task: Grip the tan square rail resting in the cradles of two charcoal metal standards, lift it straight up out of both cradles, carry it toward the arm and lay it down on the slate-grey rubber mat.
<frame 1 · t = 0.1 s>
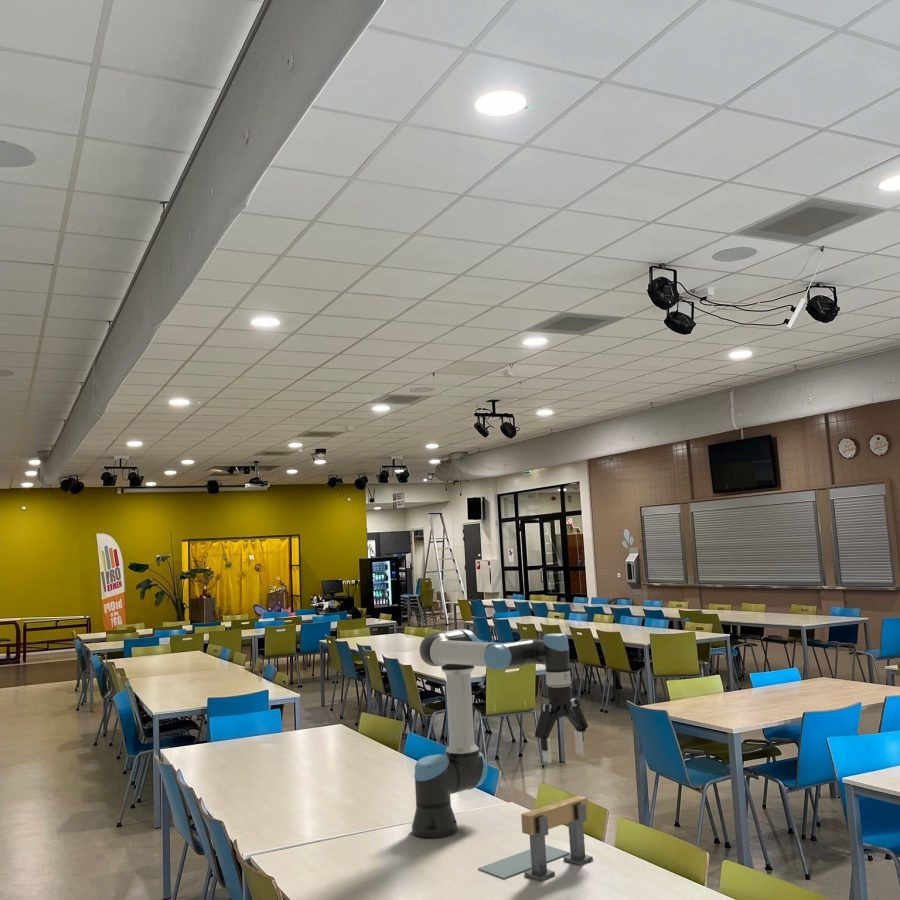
hand: (563, 757, 247), 28 cm above the table, fingers open, 13 cm apart
rail: (556, 823, 235), point 12 cm above the table, touching rack
mat: (524, 861, 240), on the table
rack: (559, 868, 233), on the table
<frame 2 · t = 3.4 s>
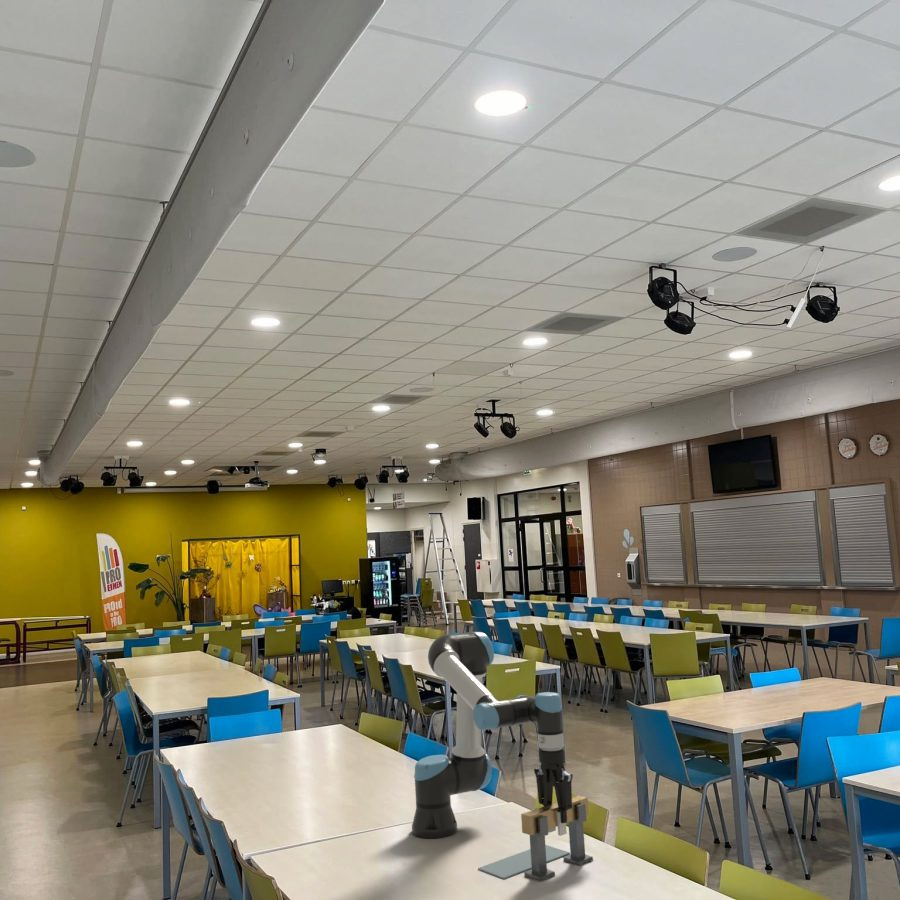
hand: (557, 832, 235), 10 cm above the table, fingers closed on rail, 3 cm apart
rail: (556, 823, 235), point 12 cm above the table, touching gripper, rack
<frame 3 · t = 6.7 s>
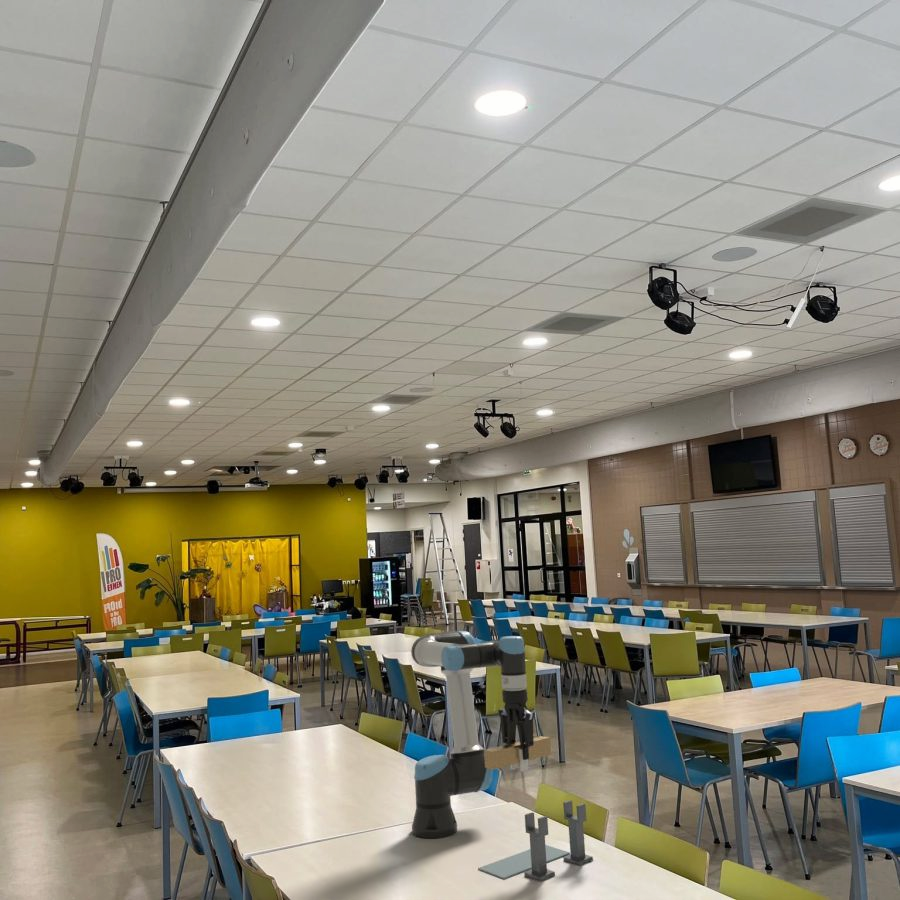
hand: (519, 769, 243), 26 cm above the table, fingers closed on rail, 3 cm apart
rail: (518, 760, 244), point 28 cm above the table, touching gripper
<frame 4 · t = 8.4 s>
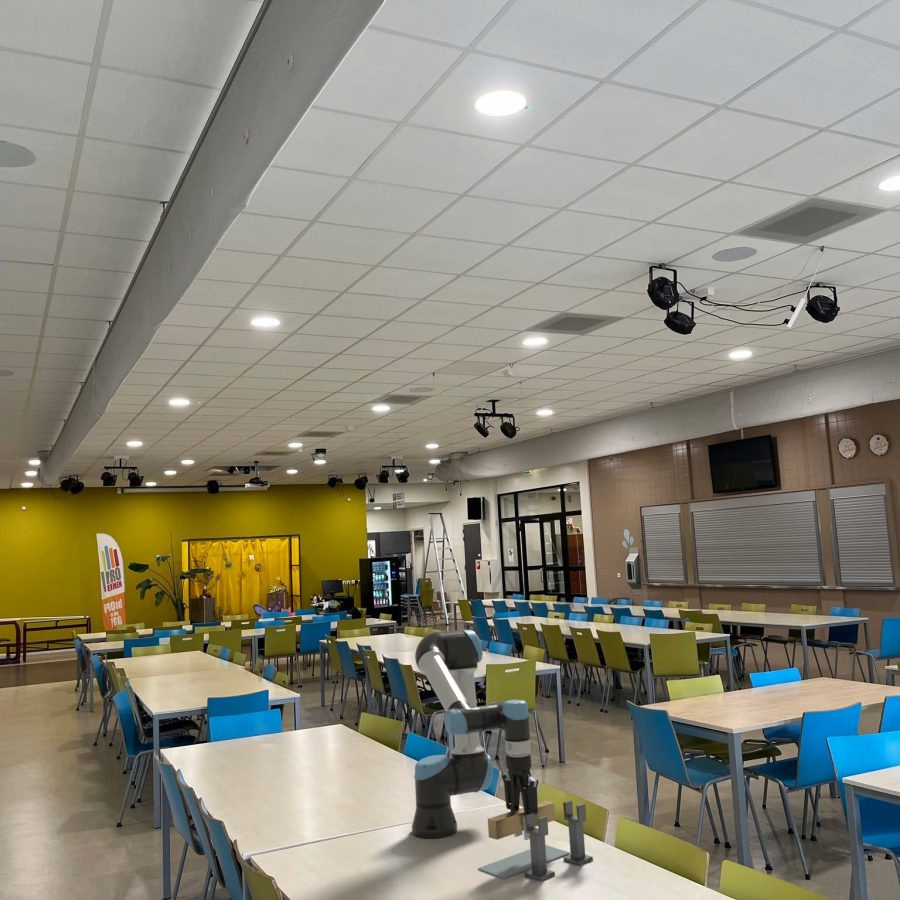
hand: (523, 836, 241), 7 cm above the table, fingers closed on rail, 3 cm apart
rail: (522, 828, 241), point 9 cm above the table, touching gripper
when the fingers open (1 cm above the table, at t = 10.1 s): rail drops 3 cm, resting on mat.
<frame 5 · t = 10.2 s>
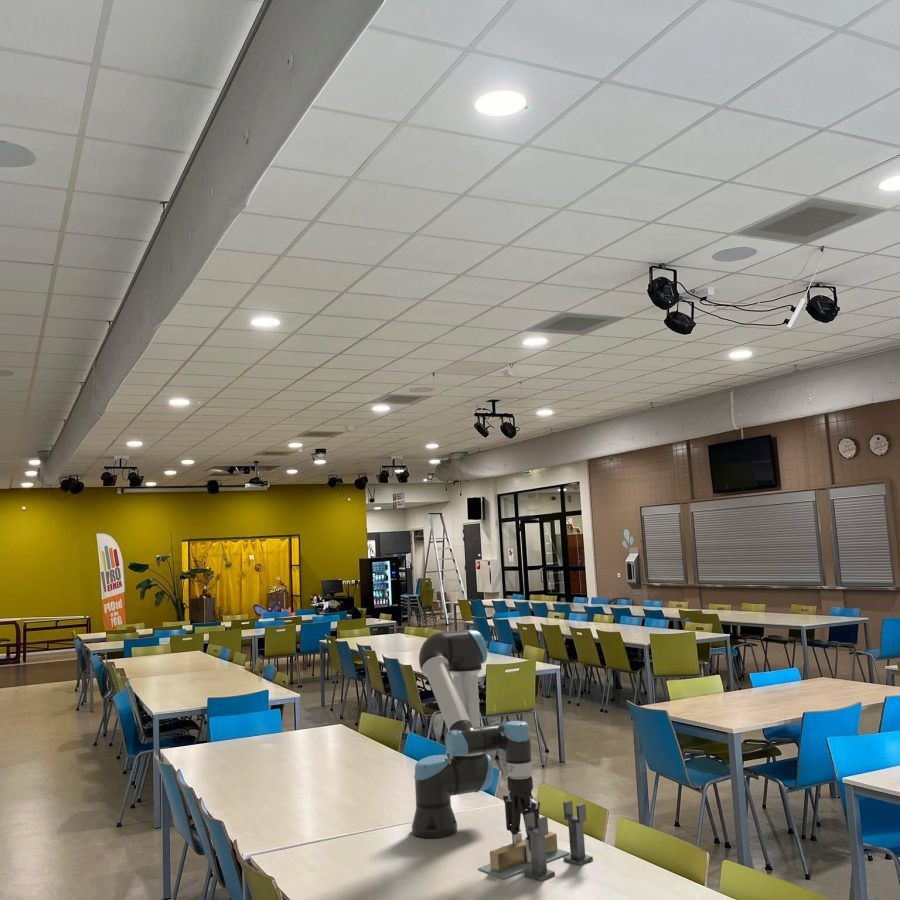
hand: (524, 858, 240), 1 cm above the table, fingers open, 4 cm apart
rail: (525, 860, 240), resting on mat
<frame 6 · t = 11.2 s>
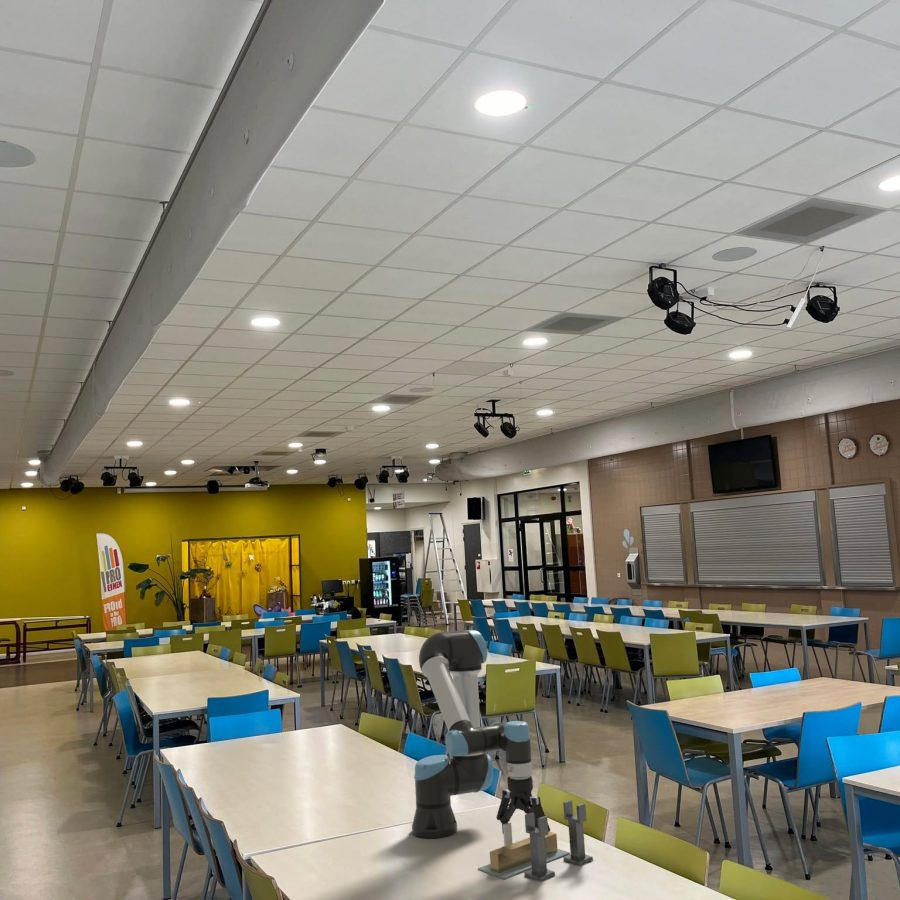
hand: (524, 851, 240), 3 cm above the table, fingers open, 13 cm apart
nothing on the table moved.
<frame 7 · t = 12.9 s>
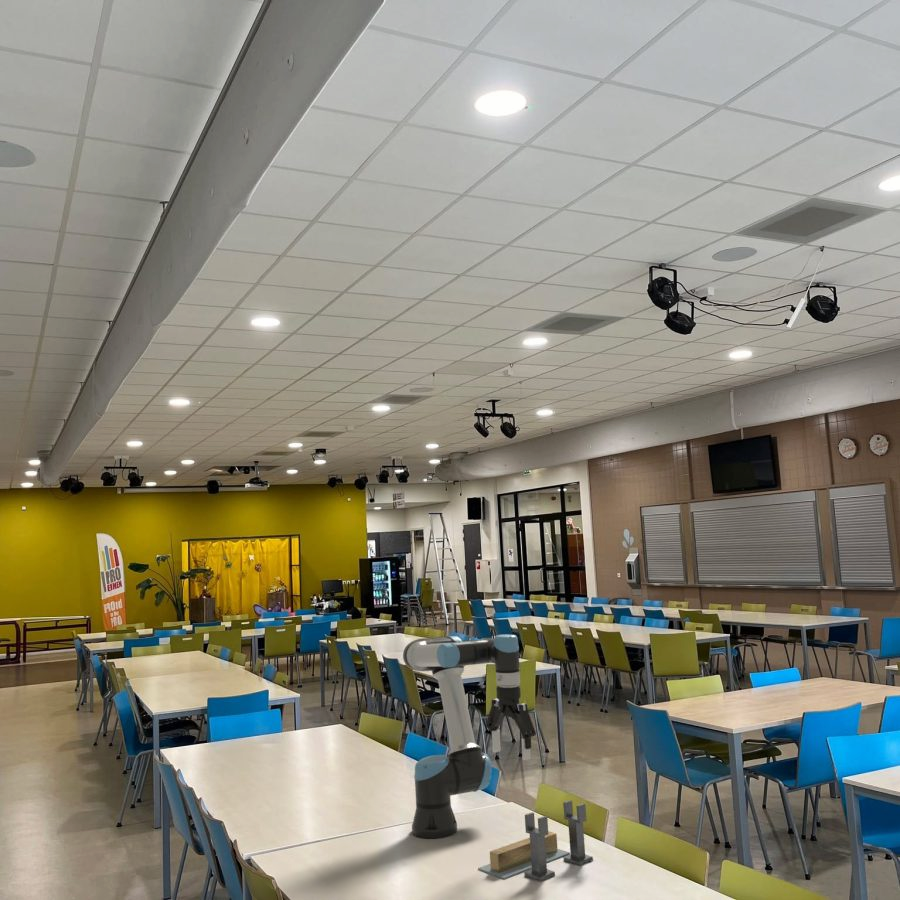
hand: (511, 755, 253), 28 cm above the table, fingers open, 13 cm apart
nothing on the table moved.
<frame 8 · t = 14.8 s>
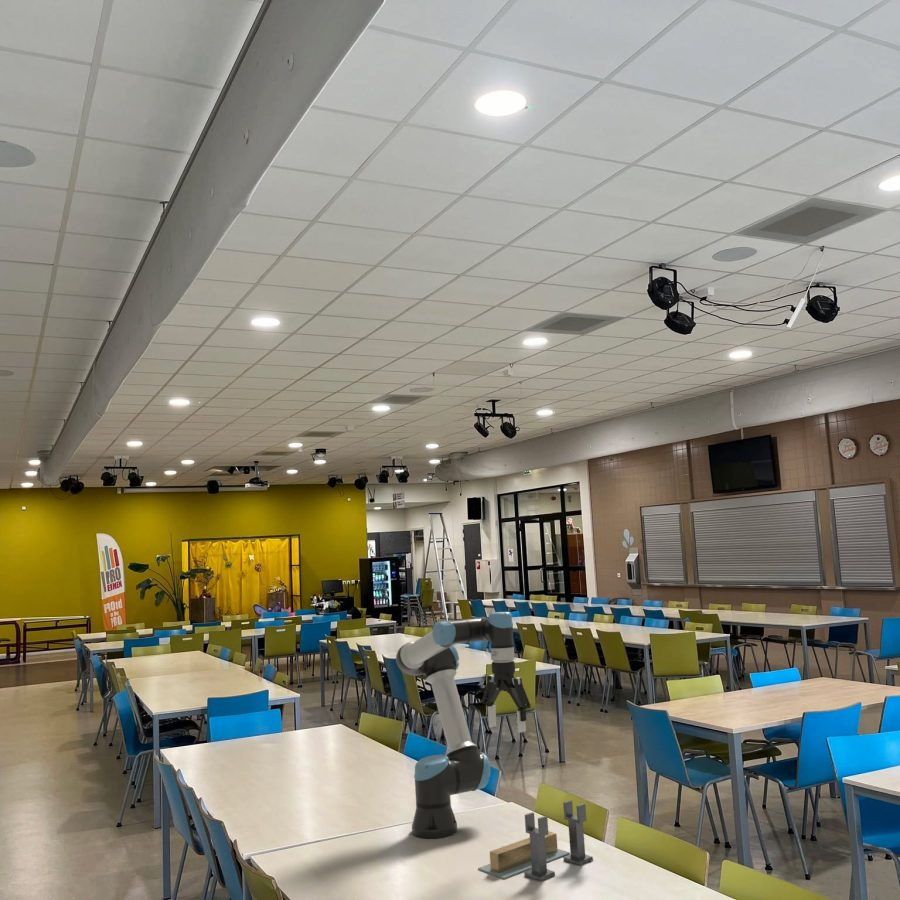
hand: (507, 729, 260), 35 cm above the table, fingers open, 13 cm apart
nothing on the table moved.
at the end: rail inside the target area (0.1 cm from its centre), resting on mat; rail touching mat; the gripper is holding nothing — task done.
